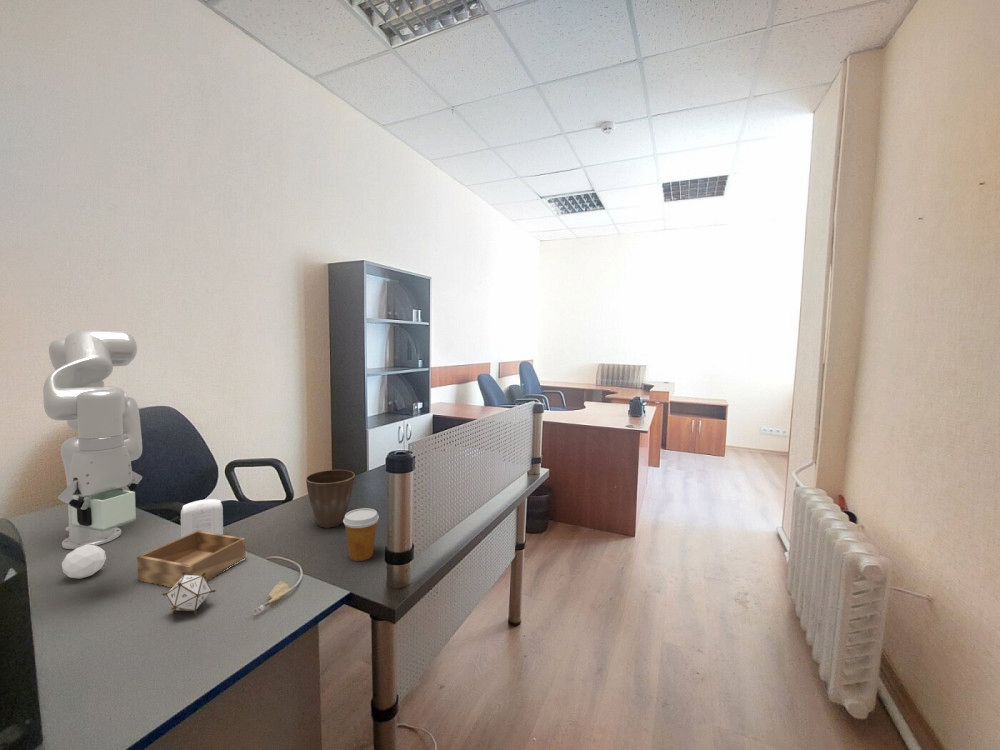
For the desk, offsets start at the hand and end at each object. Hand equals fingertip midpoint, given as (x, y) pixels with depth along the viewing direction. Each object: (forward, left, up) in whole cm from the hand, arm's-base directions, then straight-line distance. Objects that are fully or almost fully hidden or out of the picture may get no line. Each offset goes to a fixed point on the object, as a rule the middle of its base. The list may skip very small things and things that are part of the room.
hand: (104, 518), depth 97 cm
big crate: (+10, +13, -18) cm, 24 cm away
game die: (+25, 0, -18) cm, 31 cm away
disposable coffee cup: (+47, +32, -18) cm, 60 cm away
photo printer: (-3, +26, -18) cm, 32 cm away
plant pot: (+25, +48, -18) cm, 57 cm away
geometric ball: (-13, +3, -18) cm, 22 cm away
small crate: (0, 0, -1) cm, 1 cm away
